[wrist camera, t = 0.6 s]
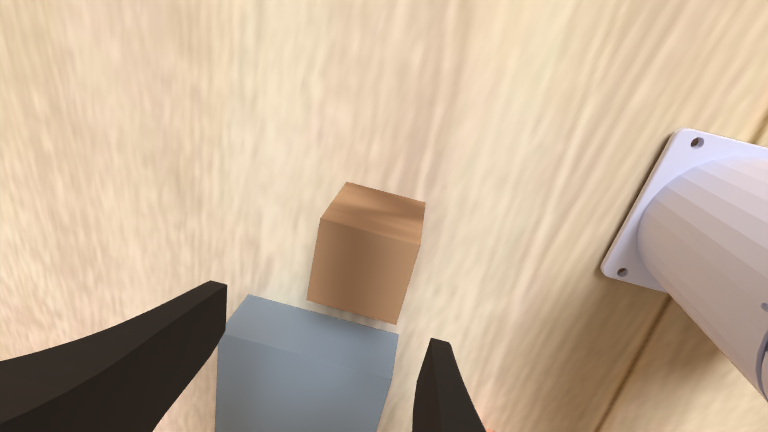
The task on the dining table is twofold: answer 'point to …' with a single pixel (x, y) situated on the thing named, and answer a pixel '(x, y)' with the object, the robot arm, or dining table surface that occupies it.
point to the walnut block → (366, 252)
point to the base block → (300, 371)
